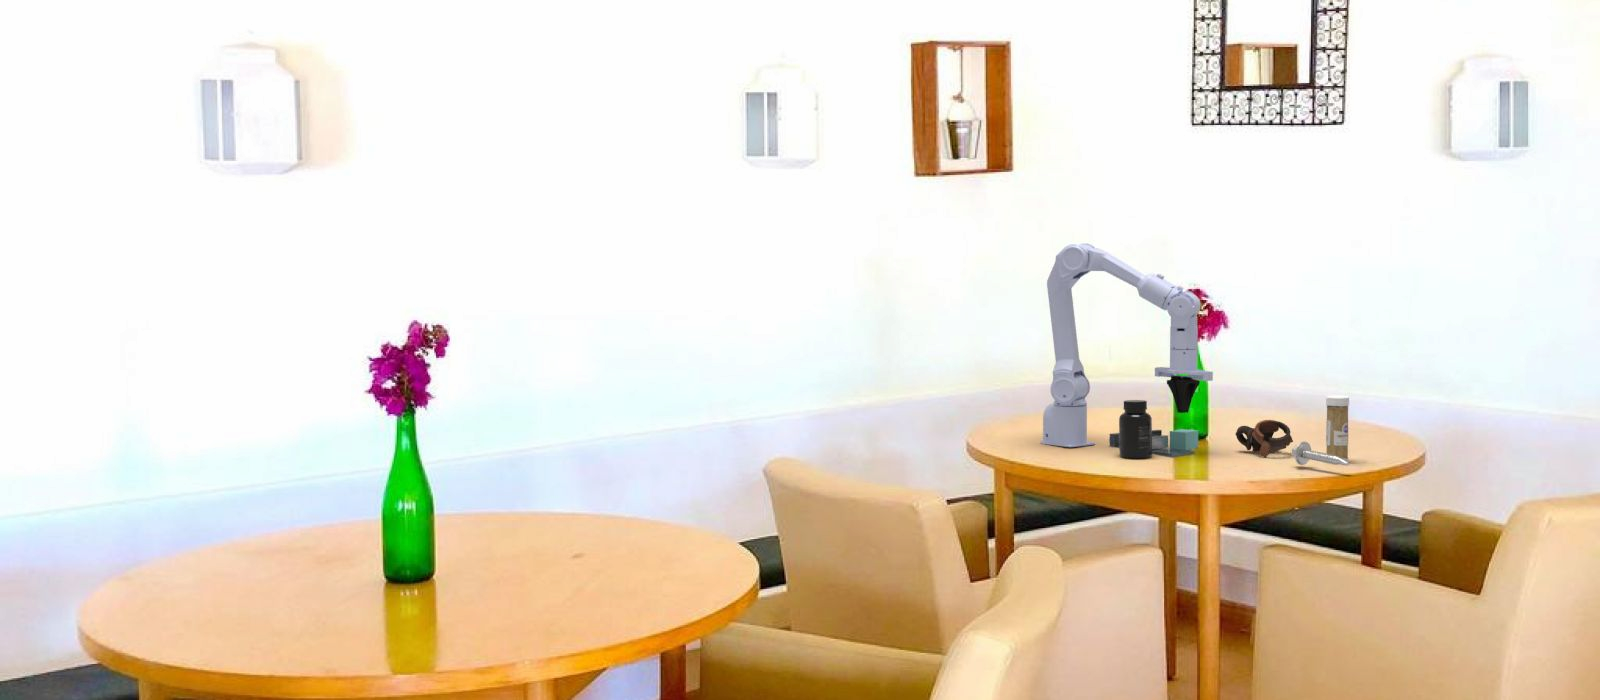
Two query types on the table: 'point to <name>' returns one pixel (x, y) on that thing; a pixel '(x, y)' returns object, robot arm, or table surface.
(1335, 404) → the sprinkles bottle
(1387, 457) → the table surface
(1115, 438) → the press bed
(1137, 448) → the supplement bottle
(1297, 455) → the screw
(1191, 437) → the teal block
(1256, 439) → the brown looped part
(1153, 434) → the grey stepped block
